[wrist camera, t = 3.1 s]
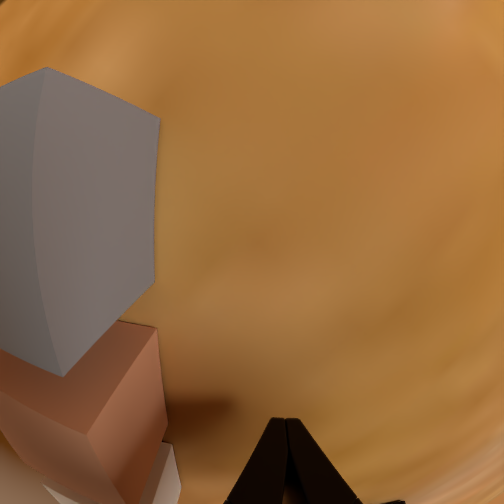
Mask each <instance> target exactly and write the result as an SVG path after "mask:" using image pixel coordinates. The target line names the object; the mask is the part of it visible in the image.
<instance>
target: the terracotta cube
mask: <svg viewBox="0 0 504 504" xmlns="http://www.w3.org/2000/svg"><path fill="white" fill-rule="evenodd" d="M167 426H168V418H167V412H166V405H165V398H164V391H163V383H162V375H161V367H160V357H159V347H158V335H157V328H152V327H147V326H141V325H136V324H131V323H126V322H121V321H115V322H114V324H113V325H112V326H111V327H110V328H109V329H108V330H107V331H106V332H105V333H104V334H103V335H102V336H101V337H100V338H99V339H98V340H97V341H96V342H95V343H94V344H93V345H92V347H91V348H90V349H89V350H88V351H87V352H86V353H85V354H84V355H83V356H82V357H81V358H80V359H79V360H78V362H77V363H76V364H75V365H74V366H73V367H72V368H71V369H70V370H69V371H68V372H67V374H66V375H65V376H64V377H61V376H58V375H56V374H53V373H51V372H49V371H46V370H44V369H42V368H39V367H37V366H35V365H33V364H30V363H28V362H26V361H24V360H22V359H20V358H18V357H16V356H14V355H12V354H10V353H8V352H6V351H4V350H2V349H0V430H1V431H2V433H3V434H4V436H5V437H6V439H7V440H8V442H9V443H10V445H11V446H12V447H13V449H14V450H15V451H16V453H17V454H18V455H19V457H20V458H21V459H22V461H23V462H24V463H25V464H27V465H28V466H30V467H31V468H33V469H35V470H36V471H38V472H39V473H41V474H43V475H44V476H46V477H48V478H50V479H51V480H53V481H55V482H57V483H59V484H61V485H63V486H64V487H66V488H68V489H70V490H72V491H74V492H77V493H79V494H81V495H83V496H85V497H87V498H90V499H92V500H94V501H97V502H99V503H101V504H139V501H140V499H141V496H142V493H143V490H144V488H145V485H146V482H147V479H148V477H149V474H150V471H151V468H152V466H153V463H154V460H155V458H156V455H157V452H158V450H159V447H160V444H161V442H162V439H163V436H164V434H165V431H166V428H167Z"/></svg>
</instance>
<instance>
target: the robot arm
mask: <svg viewBox="0 0 504 504" xmlns="http://www.w3.org/2000/svg"><path fill="white" fill-rule="evenodd" d="M356 498H357V496H356V495H355V493H354V492H353V491H352V489H351V488H350V487H349V486H348V484H347V483H346V482H345V480H344V479H343V478H342V477H341V475H340V474H339V473H338V471H337V470H336V469H335V467H334V466H333V465H332V463H331V462H330V461H329V459H328V458H327V457H326V455H325V454H324V452H323V451H322V450H321V448H320V447H319V446H318V444H317V443H316V441H315V440H314V439H313V437H312V436H311V434H310V433H309V432H308V430H307V429H306V427H305V426H304V425H303V423H302V422H301V420H300V419H298V418H286V419H284V418H277V417H272V418H271V419H270V420H269V422H268V424H267V426H266V428H265V430H264V432H263V434H262V436H261V438H260V440H259V442H258V444H257V446H256V448H255V450H254V451H253V453H252V455H251V457H250V459H249V461H248V463H247V464H246V466H245V468H244V470H243V471H242V473H241V475H240V477H239V479H238V480H237V482H236V484H235V485H234V487H233V489H232V490H231V492H230V494H229V496H228V497H227V500H225V502H224V503H223V504H363V503H362V502H361V501H360V499H359V498H357V499H356ZM392 504H406V503H405V501H400V502H397V503H392Z"/></svg>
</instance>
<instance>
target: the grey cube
mask: <svg viewBox="0 0 504 504" xmlns="http://www.w3.org/2000/svg"><path fill="white" fill-rule="evenodd" d="M159 127H160V118H158V117H156V116H154V115H152V114H150V113H148V112H146V111H144V110H142V109H140V108H138V107H136V106H134V105H132V104H130V103H128V102H126V101H124V100H122V99H120V98H118V97H116V96H114V95H111V94H109V93H107V92H105V91H103V90H101V89H98V88H96V87H94V86H92V85H89V84H87V83H85V82H82V81H80V80H78V79H75V78H73V77H71V76H68V75H66V74H63V73H61V72H59V71H56V70H53V69H51V68H48V67H45V68H43V69H40V70H38V71H35V72H33V73H30V74H28V75H25V76H23V77H21V78H18V79H16V80H14V81H12V82H10V83H8V84H6V85H4V86H1V87H0V349H2V350H4V351H6V352H8V353H10V354H12V355H14V356H16V357H18V358H20V359H22V360H24V361H26V362H28V363H30V364H33V365H35V366H37V367H39V368H42V369H44V370H46V371H49V372H51V373H53V374H56V375H58V376H61V377H64V376H65V375H66V374H67V372H68V371H69V370H70V369H71V368H72V367H73V366H74V365H75V364H76V363H77V362H78V360H79V359H80V358H81V357H82V356H83V355H84V354H85V353H86V352H87V351H88V350H89V349H90V348H91V347H92V345H93V344H94V343H95V342H96V341H97V340H98V339H99V338H100V337H101V336H102V335H103V334H104V333H105V332H106V331H107V330H108V329H109V328H110V327H111V326H112V325H113V324H114V322H115V321H116V320H117V319H118V318H119V317H120V316H121V315H122V314H123V313H124V312H125V311H126V310H127V309H128V308H129V307H130V306H131V305H132V304H133V303H134V302H135V301H136V300H137V299H138V298H139V297H140V296H141V295H142V294H143V293H144V292H145V291H146V290H147V289H148V288H149V287H150V286H151V285H152V284H153V283H154V282H155V275H154V203H155V179H156V162H157V149H158V137H159Z"/></svg>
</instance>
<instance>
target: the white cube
mask: <svg viewBox="0 0 504 504" xmlns="http://www.w3.org/2000/svg"><path fill="white" fill-rule="evenodd" d="M41 484H42V485H43V486H44V487H45V488H46V489H47V490H48V491H49V493H50V494H51V495H52V496H53V497H54V498H55V499H56V500H57V501H58V502H59V503H60V504H101V503H99V502H97V501H94V500H92V499H90V498H87V497H85V496H83V495H81V494H79V493H77V492H74V491H72V490H70V489H68V488H66V487H64V486H63V485H61V484H59V483H57V482H55V481H53V480H51V479H50V478H48V477H46V476H45V477H44V478H43V480H42V481H41ZM180 491H181V483H180V479H179V475H178V470H177V466H176V461H175V456H174V451H173V446H172V444H168V443H164V442H161V444H160V447H159V450H158V452H157V455H156V458H155V460H154V463H153V466H152V468H151V471H150V474H149V477H148V479H147V482H146V485H145V488H144V490H143V493H142V496H141V499H140V501H139V504H177V502H178V499H179V495H180Z"/></svg>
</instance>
